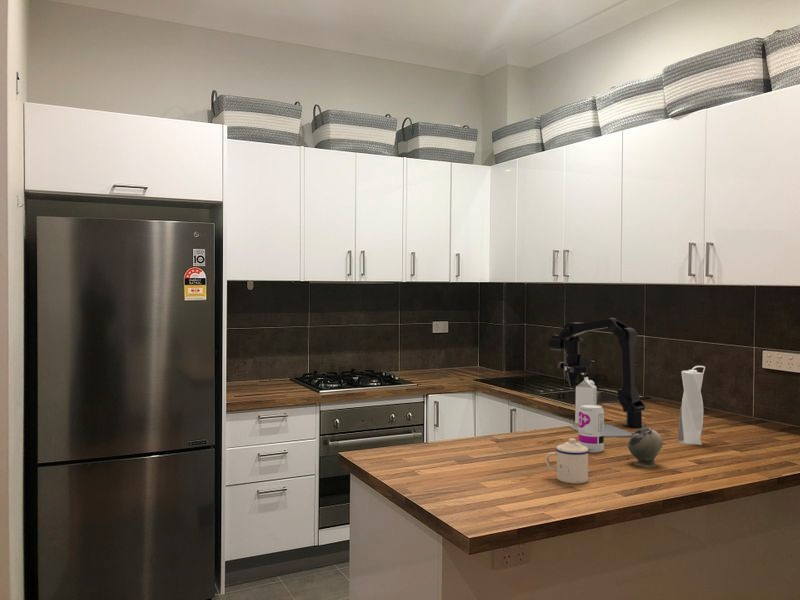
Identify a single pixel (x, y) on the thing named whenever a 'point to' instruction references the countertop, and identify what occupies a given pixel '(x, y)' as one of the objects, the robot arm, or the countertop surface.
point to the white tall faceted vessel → (691, 408)
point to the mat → (610, 431)
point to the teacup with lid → (571, 462)
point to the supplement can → (591, 427)
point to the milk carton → (585, 395)
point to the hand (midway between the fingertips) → (571, 387)
